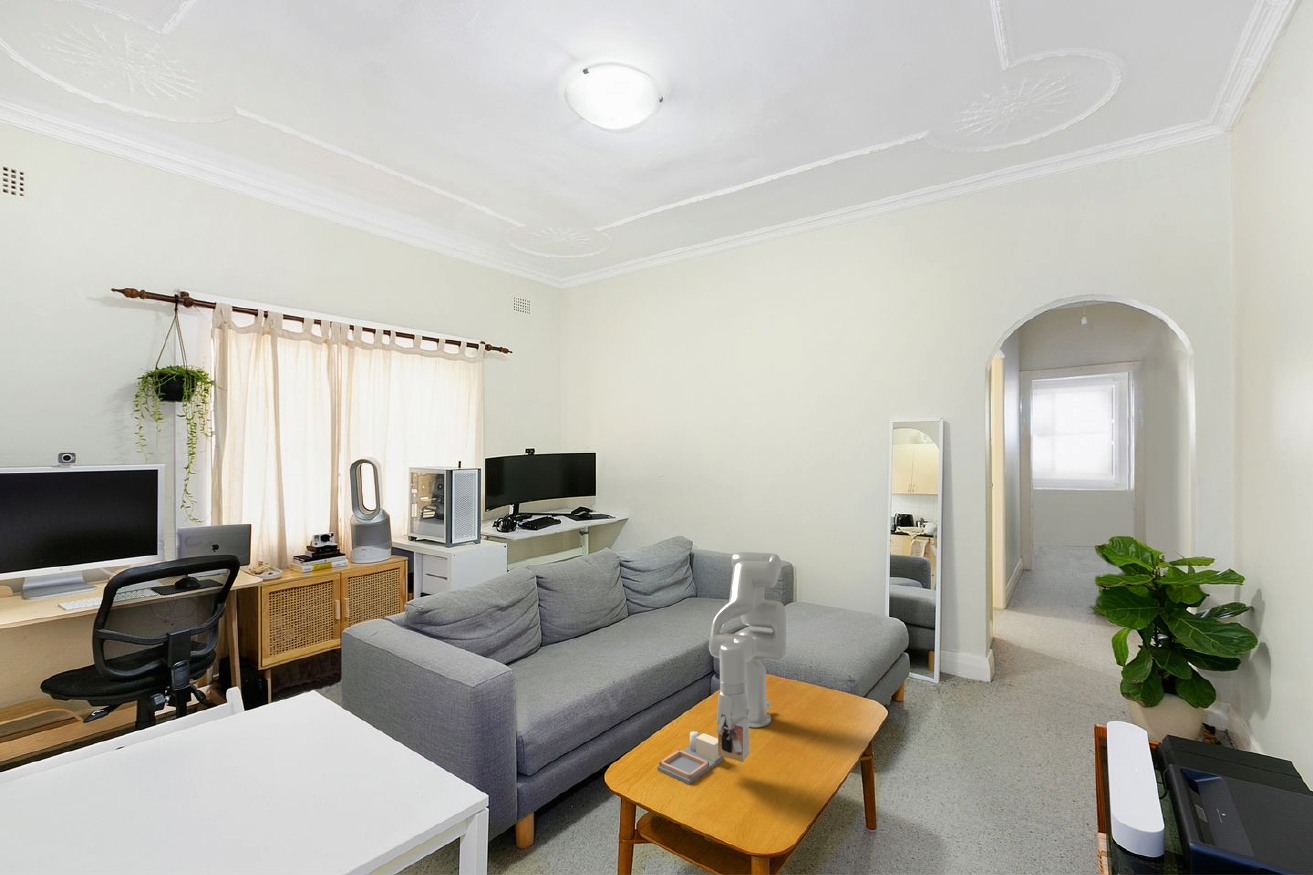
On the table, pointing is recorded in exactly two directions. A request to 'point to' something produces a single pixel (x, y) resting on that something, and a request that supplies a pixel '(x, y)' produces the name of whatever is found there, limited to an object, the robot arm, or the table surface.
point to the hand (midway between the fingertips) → (733, 745)
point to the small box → (737, 741)
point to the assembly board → (692, 758)
